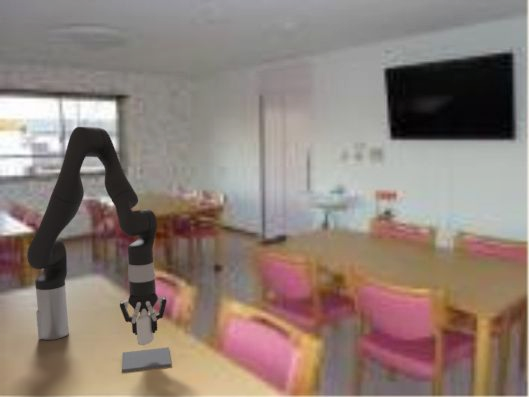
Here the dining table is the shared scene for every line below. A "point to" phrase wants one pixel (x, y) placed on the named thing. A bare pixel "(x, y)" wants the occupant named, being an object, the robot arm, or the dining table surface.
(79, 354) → the dining table surface
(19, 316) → the dining table surface
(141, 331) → the eye dropper bottle
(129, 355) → the slate mat
